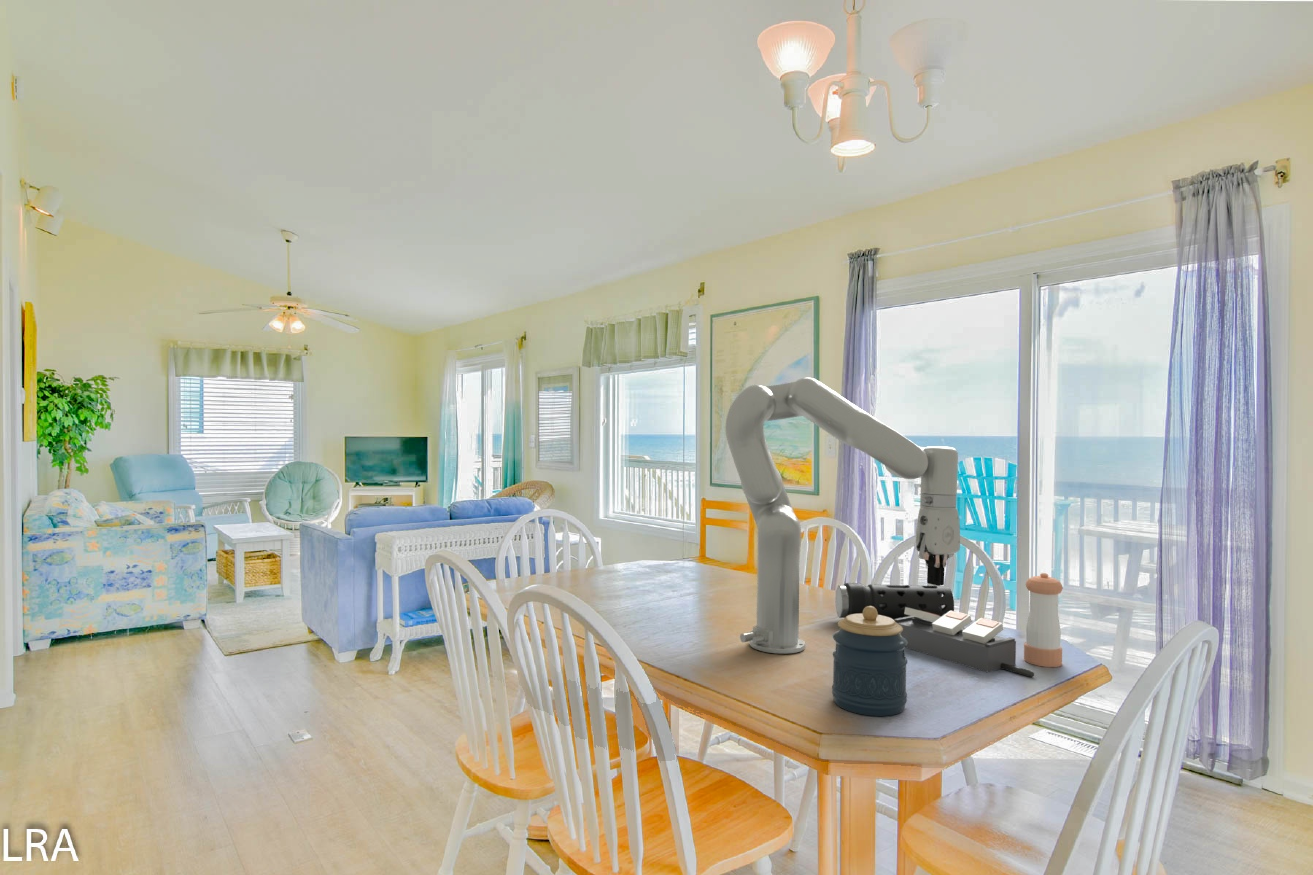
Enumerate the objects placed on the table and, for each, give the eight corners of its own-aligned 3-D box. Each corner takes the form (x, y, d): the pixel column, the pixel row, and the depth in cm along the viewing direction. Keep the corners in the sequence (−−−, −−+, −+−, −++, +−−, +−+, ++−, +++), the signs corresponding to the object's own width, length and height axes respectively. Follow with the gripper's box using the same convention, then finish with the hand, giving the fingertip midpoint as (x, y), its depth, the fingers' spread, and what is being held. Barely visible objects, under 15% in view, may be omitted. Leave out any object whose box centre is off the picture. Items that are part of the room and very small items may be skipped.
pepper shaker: (1023, 663, 156) (1025, 574, 156) (1024, 654, 162) (1025, 569, 162) (1062, 669, 152) (1064, 577, 152) (1061, 659, 159) (1063, 572, 159)
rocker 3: (984, 643, 152) (983, 636, 152) (963, 638, 157) (961, 630, 156) (1003, 629, 156) (1002, 622, 156) (981, 624, 160) (980, 617, 160)
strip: (1019, 682, 144) (1020, 653, 144) (892, 643, 170) (892, 618, 170) (1047, 673, 150) (1047, 645, 150) (919, 637, 175) (920, 613, 175)
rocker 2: (953, 635, 159) (951, 628, 158) (933, 629, 163) (931, 622, 163) (971, 621, 162) (970, 614, 162) (951, 616, 167) (950, 609, 166)
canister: (833, 687, 140) (835, 595, 139) (905, 695, 136) (906, 601, 136) (829, 712, 127) (831, 611, 127) (908, 721, 123) (909, 617, 123)
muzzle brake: (954, 629, 183) (955, 588, 183) (842, 627, 184) (843, 586, 184) (940, 620, 193) (941, 581, 193) (834, 618, 193) (834, 579, 193)
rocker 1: (922, 618, 165) (923, 610, 165) (904, 613, 169) (905, 606, 169) (940, 623, 168) (942, 616, 169) (922, 618, 173) (923, 611, 173)
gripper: (931, 504, 155) (928, 590, 155) (973, 502, 163) (971, 584, 163) (902, 501, 161) (899, 583, 161) (944, 499, 169) (941, 578, 169)
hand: (935, 584), depth 162 cm, fingers closed
